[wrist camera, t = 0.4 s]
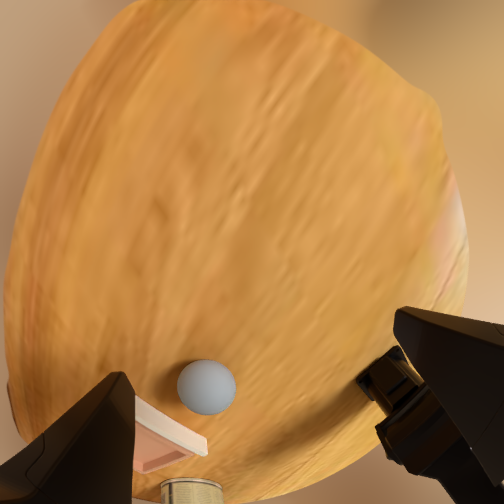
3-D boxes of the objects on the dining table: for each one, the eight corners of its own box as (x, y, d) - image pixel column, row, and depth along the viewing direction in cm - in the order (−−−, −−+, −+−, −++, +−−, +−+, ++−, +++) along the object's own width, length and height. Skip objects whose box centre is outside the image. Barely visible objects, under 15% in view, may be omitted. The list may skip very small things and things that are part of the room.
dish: (193, 442, 26) (194, 455, 24) (144, 463, 27) (143, 474, 25) (124, 400, 23) (121, 414, 21) (82, 427, 23) (79, 439, 21)
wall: (206, 438, 26) (207, 454, 24) (201, 440, 26) (202, 456, 24) (116, 380, 22) (111, 397, 20) (112, 383, 22) (106, 400, 20)
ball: (243, 369, 24) (252, 407, 19) (204, 394, 24) (207, 432, 19) (206, 338, 22) (209, 377, 18) (167, 367, 22) (162, 406, 18)
